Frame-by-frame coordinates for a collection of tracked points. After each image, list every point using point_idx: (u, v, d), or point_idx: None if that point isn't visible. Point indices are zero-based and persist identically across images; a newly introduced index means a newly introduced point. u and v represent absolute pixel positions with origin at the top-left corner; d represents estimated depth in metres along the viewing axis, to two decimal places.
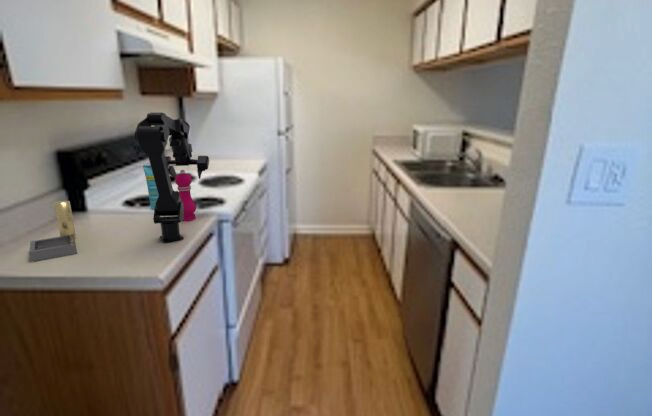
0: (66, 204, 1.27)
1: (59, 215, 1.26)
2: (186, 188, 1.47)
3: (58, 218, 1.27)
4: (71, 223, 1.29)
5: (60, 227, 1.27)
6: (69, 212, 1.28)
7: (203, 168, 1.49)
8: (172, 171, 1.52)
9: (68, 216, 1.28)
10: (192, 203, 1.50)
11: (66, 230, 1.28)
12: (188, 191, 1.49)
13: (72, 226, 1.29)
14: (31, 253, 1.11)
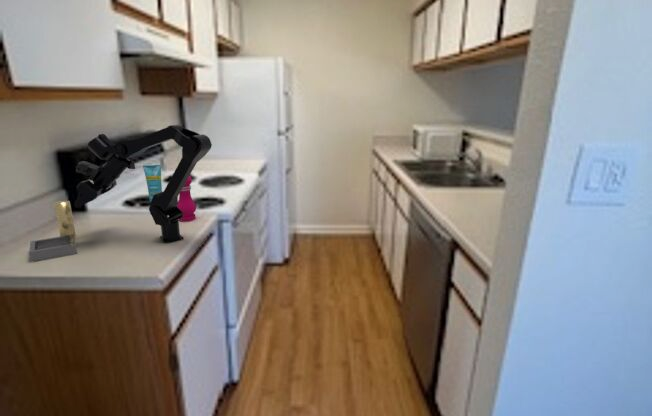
0: (66, 204, 1.27)
1: (59, 215, 1.26)
2: (186, 188, 1.47)
3: (58, 218, 1.27)
4: (71, 223, 1.29)
5: (60, 227, 1.27)
6: (69, 212, 1.28)
7: (113, 187, 1.36)
8: None
9: (68, 216, 1.28)
10: (192, 203, 1.50)
11: (66, 230, 1.28)
12: (188, 191, 1.49)
13: (72, 226, 1.29)
14: (31, 253, 1.11)
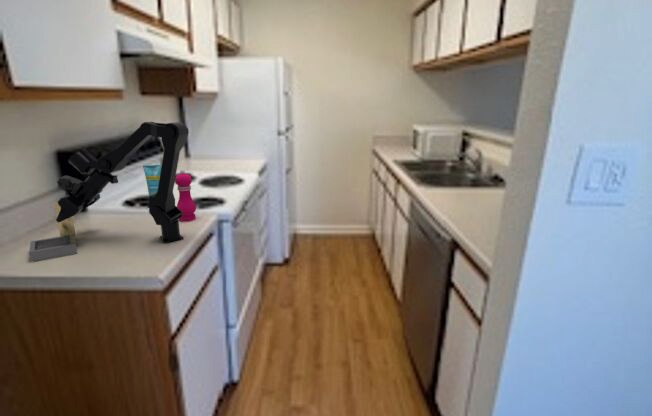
0: None
1: None
2: (186, 188, 1.47)
3: None
4: (71, 223, 1.29)
5: (60, 227, 1.27)
6: None
7: (97, 200, 1.36)
8: None
9: None
10: (192, 203, 1.50)
11: (66, 230, 1.28)
12: (188, 191, 1.49)
13: (72, 226, 1.29)
14: (31, 253, 1.11)
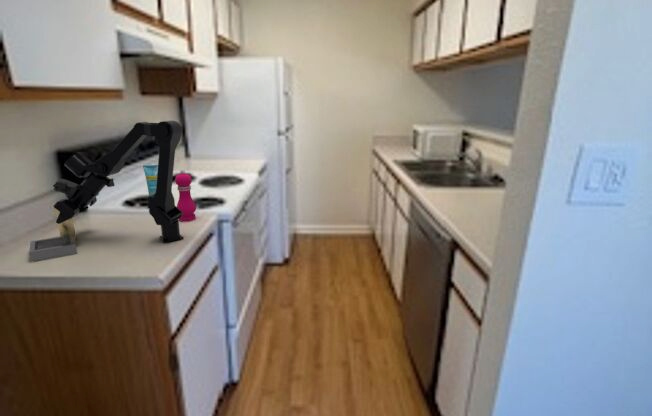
0: None
1: None
2: (186, 188, 1.47)
3: None
4: (71, 223, 1.29)
5: (60, 227, 1.27)
6: None
7: (93, 203, 1.36)
8: None
9: None
10: (192, 203, 1.50)
11: (66, 230, 1.28)
12: (188, 191, 1.49)
13: (72, 226, 1.29)
14: (31, 253, 1.11)
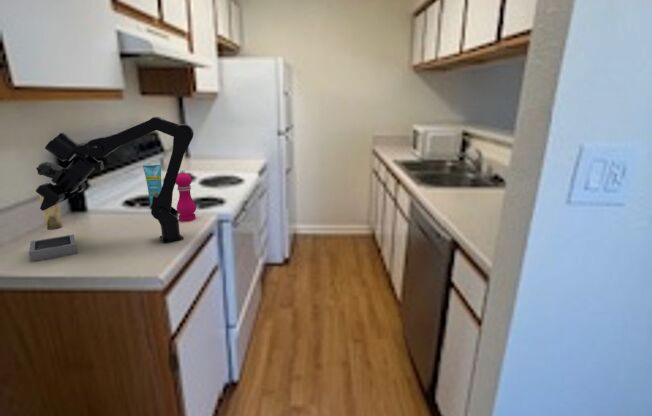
0: None
1: None
2: (186, 188, 1.47)
3: None
4: (57, 210, 1.19)
5: (45, 214, 1.17)
6: None
7: (82, 190, 1.26)
8: None
9: None
10: (192, 203, 1.50)
11: (51, 217, 1.18)
12: (188, 191, 1.49)
13: (58, 214, 1.19)
14: (31, 253, 1.11)
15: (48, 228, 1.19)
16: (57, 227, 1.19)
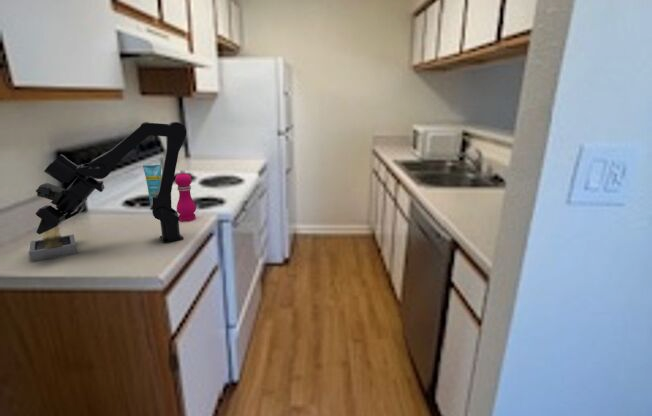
0: None
1: None
2: (186, 188, 1.47)
3: None
4: (57, 234, 1.18)
5: (45, 239, 1.16)
6: None
7: (81, 210, 1.25)
8: None
9: None
10: (192, 203, 1.50)
11: (52, 242, 1.17)
12: (188, 191, 1.49)
13: (59, 238, 1.18)
14: (31, 253, 1.11)
15: None
16: None
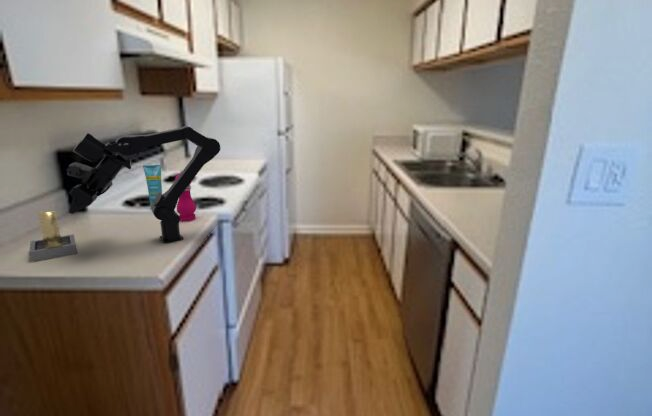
0: (51, 214, 1.15)
1: (43, 226, 1.15)
2: (186, 188, 1.47)
3: (43, 229, 1.15)
4: (57, 234, 1.18)
5: (45, 239, 1.16)
6: (55, 222, 1.17)
7: (109, 187, 1.26)
8: None
9: (54, 227, 1.16)
10: (192, 203, 1.50)
11: (52, 242, 1.17)
12: (188, 191, 1.49)
13: (59, 238, 1.18)
14: (31, 253, 1.11)
15: None
16: None
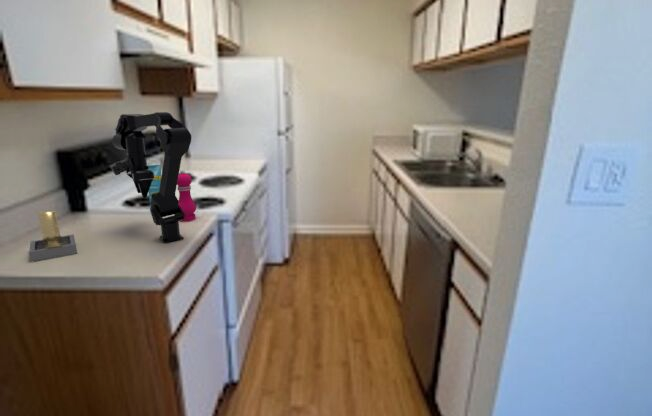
0: (51, 214, 1.15)
1: (43, 226, 1.15)
2: (186, 188, 1.47)
3: (43, 229, 1.15)
4: (57, 234, 1.18)
5: (45, 239, 1.16)
6: (55, 222, 1.17)
7: None
8: None
9: (54, 227, 1.16)
10: (192, 203, 1.50)
11: (52, 242, 1.17)
12: (188, 191, 1.49)
13: (59, 238, 1.18)
14: (31, 253, 1.11)
15: None
16: None
